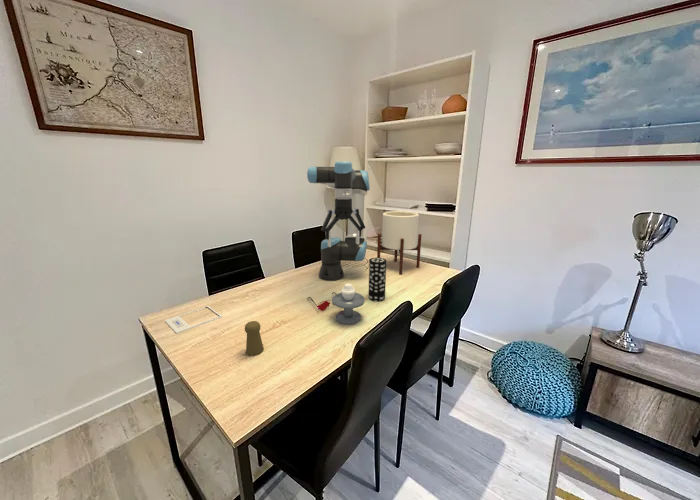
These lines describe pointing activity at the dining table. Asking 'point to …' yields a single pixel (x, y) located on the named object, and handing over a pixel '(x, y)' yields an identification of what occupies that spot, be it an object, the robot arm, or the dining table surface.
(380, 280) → the spotted tube
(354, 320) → the cake stand
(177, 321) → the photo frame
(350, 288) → the muffin
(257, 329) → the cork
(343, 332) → the dining table surface
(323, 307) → the glasses
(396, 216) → the plant pot with stand
